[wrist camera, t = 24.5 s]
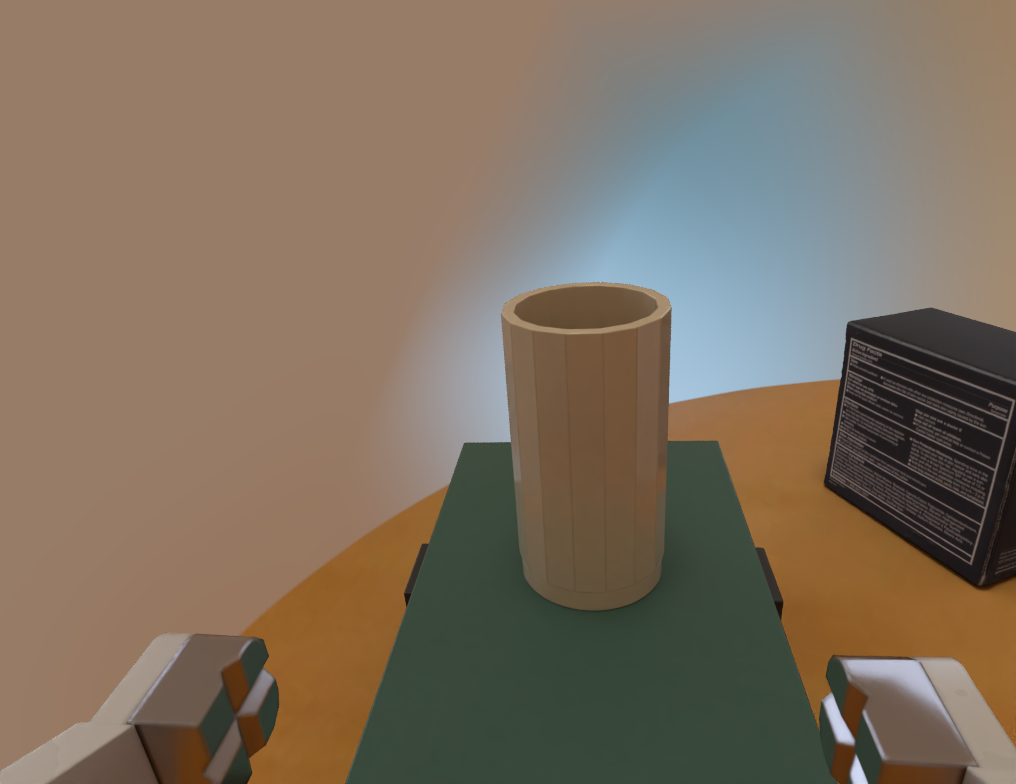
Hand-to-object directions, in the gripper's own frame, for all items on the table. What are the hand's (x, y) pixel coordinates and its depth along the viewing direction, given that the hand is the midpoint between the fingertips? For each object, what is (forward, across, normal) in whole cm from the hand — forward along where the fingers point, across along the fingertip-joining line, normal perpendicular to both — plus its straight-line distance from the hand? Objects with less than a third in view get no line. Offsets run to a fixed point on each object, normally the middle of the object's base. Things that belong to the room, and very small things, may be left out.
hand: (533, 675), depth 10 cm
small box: (+26, -20, +16) cm, 36 cm away
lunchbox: (+13, -1, +16) cm, 21 cm away
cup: (+13, -1, +9) cm, 16 cm away
